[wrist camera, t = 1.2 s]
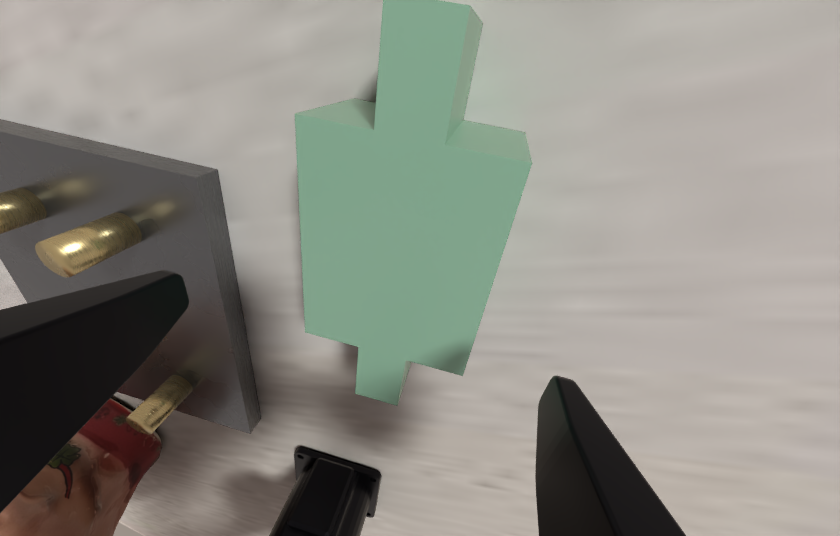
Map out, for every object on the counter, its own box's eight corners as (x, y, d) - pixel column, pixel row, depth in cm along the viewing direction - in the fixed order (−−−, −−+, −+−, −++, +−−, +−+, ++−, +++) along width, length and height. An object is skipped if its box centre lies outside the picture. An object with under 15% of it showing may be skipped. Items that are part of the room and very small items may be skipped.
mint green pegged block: (554, 35, 10) (577, 23, 7) (460, 349, 17) (448, 420, 14) (357, 2, 11) (288, -24, 7) (345, 318, 18) (307, 379, 14)
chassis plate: (217, 169, 15) (125, 204, 11) (260, 418, 24) (219, 478, 21) (-53, 107, 16) (-210, 120, 13) (90, 365, 26) (24, 413, 22)
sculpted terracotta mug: (168, 496, 37) (13, 696, 25) (60, 442, 36) (-156, 627, 24) (197, 413, 26) (-53, 696, 15) (43, 330, 25) (-367, 570, 13)
